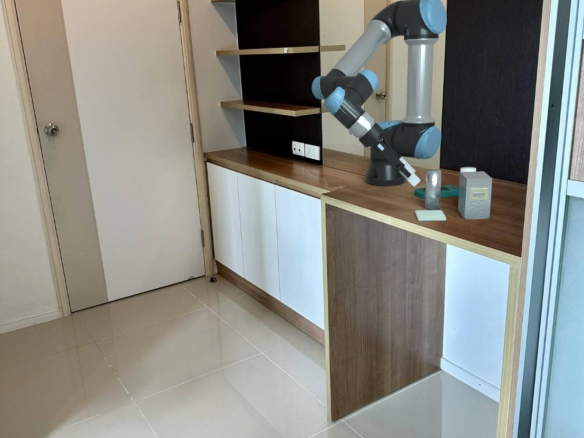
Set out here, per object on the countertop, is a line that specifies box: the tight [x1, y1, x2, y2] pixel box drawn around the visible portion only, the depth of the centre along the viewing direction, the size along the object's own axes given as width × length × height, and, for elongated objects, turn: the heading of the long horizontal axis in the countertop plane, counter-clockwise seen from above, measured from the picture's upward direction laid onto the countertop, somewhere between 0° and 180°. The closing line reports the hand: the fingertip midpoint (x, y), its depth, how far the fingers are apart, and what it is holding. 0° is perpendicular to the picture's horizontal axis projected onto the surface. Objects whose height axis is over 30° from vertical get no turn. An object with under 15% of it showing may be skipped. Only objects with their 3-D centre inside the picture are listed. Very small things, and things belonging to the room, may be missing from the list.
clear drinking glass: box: [424, 169, 442, 210], centre depth 168 cm, size 5×5×12 cm
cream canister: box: [459, 166, 477, 173], centre depth 169 cm, size 5×5×12 cm
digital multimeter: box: [414, 184, 459, 200], centre depth 185 cm, size 7×15×3 cm, turn 100°
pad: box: [414, 209, 447, 222], centre depth 161 cm, size 8×8×1 cm
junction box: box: [457, 170, 493, 220], centre depth 160 cm, size 11×7×12 cm, turn 174°
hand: (414, 178), depth 166 cm, fingers open, 13 cm apart
